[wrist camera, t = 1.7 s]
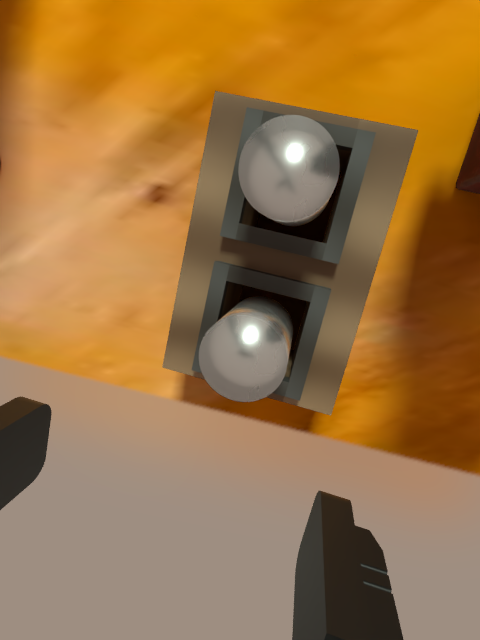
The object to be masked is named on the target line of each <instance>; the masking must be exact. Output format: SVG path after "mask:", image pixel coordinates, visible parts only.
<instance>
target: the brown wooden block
mask: <svg viewBox="0 0 480 640" xmlns="http://www.w3.org/2000/svg"><path fill="white" fill-rule="evenodd" d="M284 115H300V116H304V117H308V118H310V119H312V120H314V121H316V122H318V123H319V124H320V125H322V126H323V127H324V128H325V129H326V130H327V131H328V132H329V134H330V135H331V137H332V138H333V140H334V142H335V144H336V147H337V150H338V154H339V162H340V169H339V171H340V172H342V173H341V176H340V180H339V184H338V188H337V191H336V195H335V199H334V202H333V206H332V210H331V213H330V217H329V221H328V224H327V228H326V232H325V236H324V239H323V243H322V242H318V241H313V240H309V239H305V238H300V237H296V236H292V235H287V234H283V233H279V232H275V231H270V230H266V229H262V228H257V227H256V226H257V222H258V217H259V212H258V211H257V210H256V209H255V208H253V206H252V205H251V204H250V203H249V202H248V200H247V199H246V197H245V195H244V193H243V191H242V188H241V186H240V181H239V173H238V171H239V160H240V156H241V152H242V150H243V147H244V145H245V143H246V142H247V140H248V138H249V137H250V136H251V134H252V133H253V132H254V131H255V130H256V129H257V128H258V127H260V126H261V125H262V124H264V123H265V122H267V121H269V120H271V119H273V118H276V117H279V116H284ZM417 133H418V130H415V129H409V128H404V127H399V126H394V125H389V124H384V123H378V122H373V121H368V120H363V119H358V118H352V117H347V116H342V115H337V114H332V113H327V112H321V111H316V110H311V109H306V108H301V107H296V106H290V105H285V104H280V103H275V102H270V101H264V100H259V99H254V98H249V97H244V96H239V95H233V94H228V93H223V92H218V91H215V96H214V101H213V106H212V111H211V117H210V122H209V127H208V132H207V137H206V143H205V148H204V153H203V158H202V164H201V169H200V174H199V179H198V184H197V190H196V195H195V200H194V205H193V211H192V216H191V221H190V226H189V231H188V237H187V242H186V247H185V252H184V257H183V263H182V268H181V273H180V278H179V284H178V289H177V294H176V299H175V304H174V310H173V315H172V320H171V325H170V331H169V336H168V341H167V346H166V351H165V357H164V362H163V368H166V369H170V370H173V371H177V372H180V373H184V374H187V375H191V376H194V377H198V378H201V379H205V378H204V376H203V374H202V372H201V369H200V365H199V348H200V345H201V342H202V339H203V337H204V336H205V334H206V332H207V331H208V330H209V329H210V328H211V327H212V326H213V325H214V324H215V323H216V322H218V321H219V320H220V319H221V318H222V317H223V316H224V315H226V314H227V313H228V312H229V311H230V310H231V309H232V308H234V307H235V306H236V305H237V304H238V303H239V300H240V295H241V291H242V287H243V285H245V286H249V287H253V288H257V289H261V290H265V291H269V292H273V293H277V294H281V295H285V296H289V297H293V298H297V299H301V300H305V301H307V302H306V306H305V309H304V313H303V317H302V321H301V324H300V328H299V332H298V335H297V339H296V343H295V346H294V350H293V349H290V353H289V358H288V364H287V369H286V373H285V376H284V378H283V380H282V382H281V384H280V385H279V386H278V388H277V389H276V390H275V391H274V392H272V393H271V394H270V395H268V396H267V397H268V398H272V399H275V400H279V401H282V402H286V403H289V404H293V405H296V406H300V407H303V408H307V409H310V410H314V411H317V412H321V413H324V414H328V415H331V414H332V410H333V407H334V404H335V400H336V397H337V394H338V391H339V387H340V384H341V381H342V378H343V374H344V371H345V368H346V365H347V361H348V358H349V355H350V351H351V348H352V345H353V342H354V338H355V335H356V332H357V329H358V325H359V322H360V319H361V316H362V312H363V309H364V306H365V302H366V299H367V296H368V293H369V289H370V286H371V283H372V280H373V276H374V273H375V270H376V267H377V263H378V260H379V257H380V254H381V250H382V247H383V244H384V240H385V237H386V234H387V231H388V227H389V224H390V221H391V218H392V214H393V211H394V208H395V205H396V201H397V198H398V195H399V191H400V188H401V185H402V182H403V178H404V175H405V172H406V169H407V165H408V162H409V159H410V156H411V152H412V149H413V146H414V142H415V139H416V136H417Z"/></svg>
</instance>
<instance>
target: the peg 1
mask: <svg viewBox="0 0 480 640" xmlns="http://www.w3.org/2000/svg"><path fill="white" fill-rule="evenodd" d="M339 169H340V162H339V154H338V150H337V147H336V144H335V142H334V140H333V138H332V137H331V135H330V134H329V132H328V131H327V130H326V129H325V128H324V127H323V126H322V125H320V124H319V123H318V122H316V121H314V120H312V119H310V118H308V117H304V116H300V115H284V116H279V117H276V118H273V119H271V120H269V121H267V122H265V123H264V124H262V125H261V126H260V127H258V128H257V129H256V130H255V131H254V132H253V133H252V134H251V136H250V137H249V138H248V140H247V142H246V143H245V145H244V147H243V150H242V152H241V156H240V160H239V171H238V173H239V181H240V186H241V188H242V191H243V193H244V195H245V197H246V199H247V200H248V202H249V203H250V204H251V205H252V206H253V208H255V209H256V210H257V211H258V212H259V213H261V214H263V215H264V216H266V217H268V218H270V219H272V220H273V221H275V222H277V223H279V224H282V225H286V226H300V225H304V224H307V223H309V222H311V221H313V220H314V219H315V218H317V217H318V216H319V215H320V214H321V213H322V212H323V210H324V209H325V207H326V206H327V203H328V201H329V199H330V197H331V195H332V193H333V191H334V189H335V186H336V184H337V181H338V176H339Z"/></svg>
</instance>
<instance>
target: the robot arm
mask: <svg viewBox="0 0 480 640" xmlns="http://www.w3.org/2000/svg"><path fill="white" fill-rule="evenodd" d="M50 420H51V408H50V406H49V405H47V404H43V403H41V402H37V401H34V400H31V399H28V398H25V397H17V398H15V399H13V400H11V401H10V402H7V403H6V404H4V405H2V406H0V510H1V509H2V508H3V507H4V506H5V505H7V504H8V503H9V502H10V501H11V500H12V499H14V498H15V497H16V496H17V495H18V494H19V493H20V492H22V491H23V490H24V489H25V488H26V487H27V486H29V485H30V484H31V483H32V482H33V481H34V480H35V479H36V477H37V476H38V474H39V473H40V471H41V469H42V467H43V465H44V462H45V458H46V451H47V443H48V436H49V428H50ZM391 590H392V589H391V585H390V580H389V576H388V575H387V567H386V563H385V559H384V554H383V550H382V549H381V547H380V546H379V544H378V543H377V541H376V540H375V538H374V537H373V535H372V533H371V532H370V531H369V530H367V529H364V528H361V527H358V526H355V525H354V518H353V512H352V505H351V501H350V500H348V499H345V498H341V497H338V496H335V495H332V494H328V493H325V492H322V491H318V493H317V495H316V498H315V500H314V503H313V507H312V510H311V513H310V516H309V519H308V522H307V525H306V529H305V532H304V535H303V538H302V541H301V545H300V549H299V553H298V558H297V564H296V572H295V594H294V615H293V617H294V618H293V637H292V640H403V636H402V632H401V627H400V623H399V619H398V614H397V610H396V606H395V601H394V597H393V594H391Z"/></svg>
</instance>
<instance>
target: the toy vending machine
mask: <svg viewBox="0 0 480 640" xmlns="http://www.w3.org/2000/svg"><path fill="white" fill-rule="evenodd" d="M456 188H458V189H459V190H464V191H468V192H473V193H478V194H480V114H479V117H478V120H477V123H476V126H475V129H474V132H473V135H472V138H471V141H470V144H469V147H468V150H467V153H466V156H465V159H464V162H463V165H462V168H461V170H460V173H459V176H458V179H457V182H456Z"/></svg>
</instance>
